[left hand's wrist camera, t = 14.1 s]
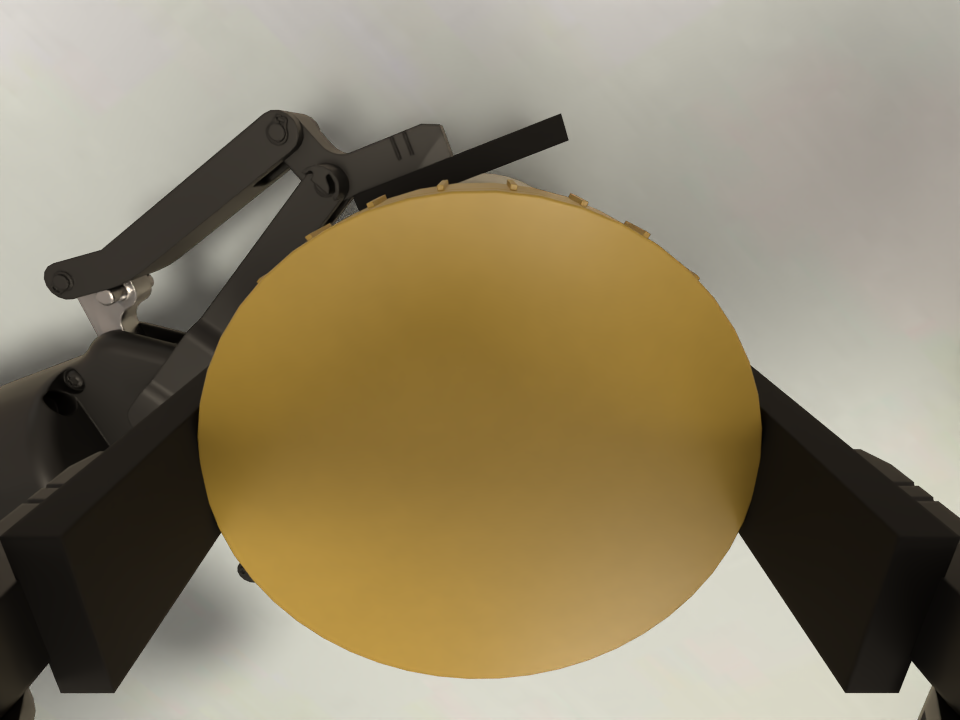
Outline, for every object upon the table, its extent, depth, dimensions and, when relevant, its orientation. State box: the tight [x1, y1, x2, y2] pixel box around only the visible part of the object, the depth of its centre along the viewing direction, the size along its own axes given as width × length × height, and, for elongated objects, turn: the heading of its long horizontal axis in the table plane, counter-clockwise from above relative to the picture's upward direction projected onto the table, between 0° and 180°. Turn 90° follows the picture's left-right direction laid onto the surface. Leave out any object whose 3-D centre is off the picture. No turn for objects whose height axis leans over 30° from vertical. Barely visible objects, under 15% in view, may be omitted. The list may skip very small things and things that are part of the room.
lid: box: [197, 179, 762, 679], centre depth 11 cm, size 10×10×2 cm
